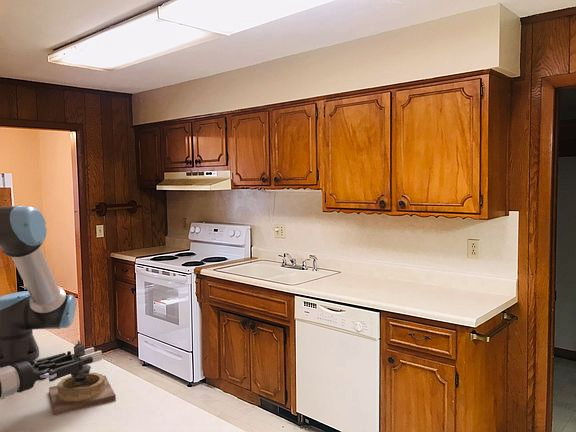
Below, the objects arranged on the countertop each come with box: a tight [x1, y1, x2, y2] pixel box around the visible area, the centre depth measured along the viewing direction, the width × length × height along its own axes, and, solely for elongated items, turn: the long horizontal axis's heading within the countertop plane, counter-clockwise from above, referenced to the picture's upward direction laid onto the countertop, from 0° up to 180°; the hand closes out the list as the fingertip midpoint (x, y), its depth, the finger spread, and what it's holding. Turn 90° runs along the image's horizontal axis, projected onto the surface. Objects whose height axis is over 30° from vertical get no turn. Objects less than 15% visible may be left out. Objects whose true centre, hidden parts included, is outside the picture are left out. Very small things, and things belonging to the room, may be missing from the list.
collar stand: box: [48, 372, 117, 416], centre depth 141 cm, size 16×16×4 cm
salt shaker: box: [70, 340, 92, 384], centre depth 140 cm, size 6×6×12 cm
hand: (97, 353), depth 144 cm, fingers closed on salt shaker, 4 cm apart
